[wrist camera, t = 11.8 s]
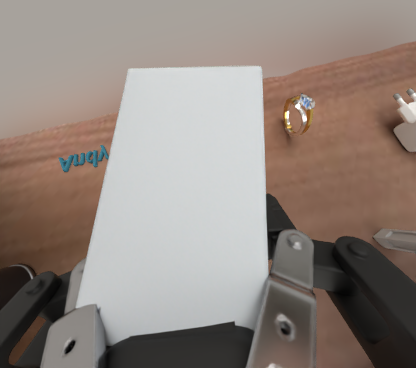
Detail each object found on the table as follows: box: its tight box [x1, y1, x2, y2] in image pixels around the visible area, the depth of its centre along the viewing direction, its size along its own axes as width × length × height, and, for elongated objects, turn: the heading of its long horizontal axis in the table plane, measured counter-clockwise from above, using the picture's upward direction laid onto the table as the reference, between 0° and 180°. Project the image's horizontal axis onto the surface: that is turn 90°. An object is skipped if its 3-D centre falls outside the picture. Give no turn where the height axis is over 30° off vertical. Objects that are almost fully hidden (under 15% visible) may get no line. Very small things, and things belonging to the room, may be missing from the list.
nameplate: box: [59, 145, 109, 172], centre depth 34 cm, size 37×1×5 cm
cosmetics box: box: [75, 66, 268, 346], centre depth 10 cm, size 10×6×10 cm, turn 177°
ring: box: [283, 93, 315, 136], centre depth 28 cm, size 7×3×8 cm, turn 10°
